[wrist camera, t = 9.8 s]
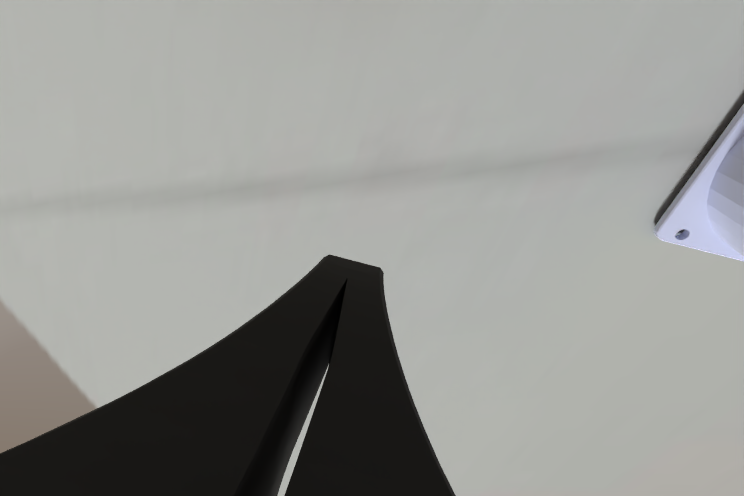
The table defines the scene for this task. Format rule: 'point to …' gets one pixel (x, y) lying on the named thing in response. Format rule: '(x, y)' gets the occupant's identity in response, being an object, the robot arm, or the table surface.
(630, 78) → the table surface
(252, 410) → the robot arm
